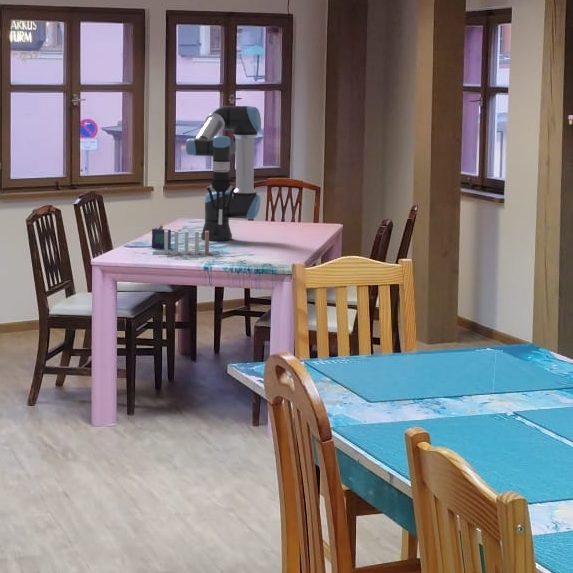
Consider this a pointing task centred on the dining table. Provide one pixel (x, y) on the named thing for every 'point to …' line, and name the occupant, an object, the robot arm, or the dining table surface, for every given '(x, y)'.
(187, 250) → the domino
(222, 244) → the dining table surface
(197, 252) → the domino
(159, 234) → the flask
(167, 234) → the domino
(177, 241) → the domino
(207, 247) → the domino
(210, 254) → the mat
